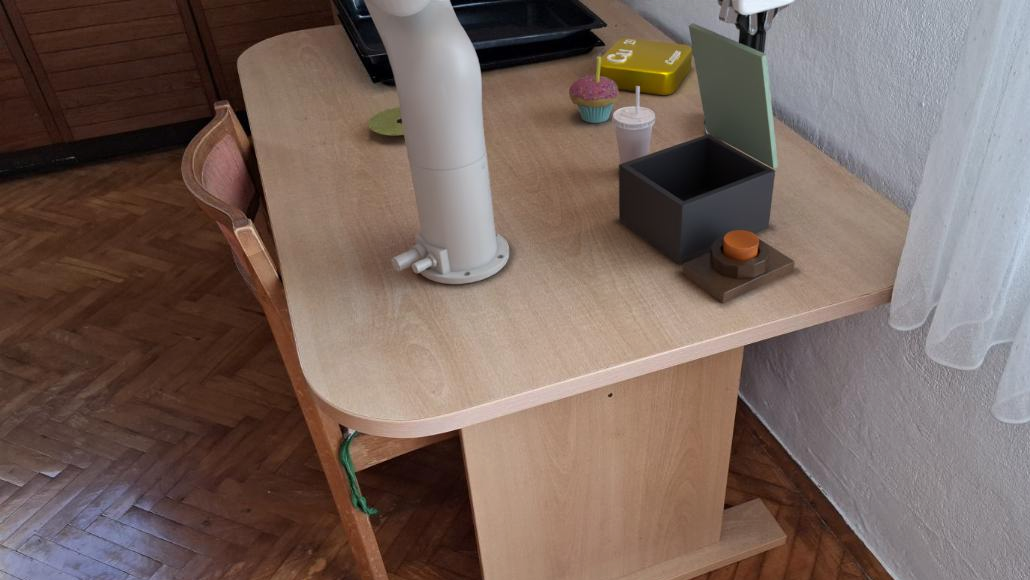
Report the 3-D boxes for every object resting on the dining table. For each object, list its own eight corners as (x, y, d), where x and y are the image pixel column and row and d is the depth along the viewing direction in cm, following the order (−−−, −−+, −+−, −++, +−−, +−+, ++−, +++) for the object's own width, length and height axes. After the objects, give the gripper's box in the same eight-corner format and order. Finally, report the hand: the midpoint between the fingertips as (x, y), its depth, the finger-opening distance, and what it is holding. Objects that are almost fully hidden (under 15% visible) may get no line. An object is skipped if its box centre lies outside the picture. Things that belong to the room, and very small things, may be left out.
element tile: (671, 97, 154) (672, 71, 151) (593, 87, 158) (593, 61, 155) (693, 67, 165) (694, 42, 162) (620, 58, 169) (620, 34, 166)
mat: (417, 149, 140) (415, 138, 139) (357, 140, 143) (355, 129, 142) (448, 120, 148) (446, 110, 147) (391, 113, 151) (389, 102, 150)
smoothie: (650, 185, 129) (652, 96, 120) (609, 181, 130) (607, 93, 122) (656, 165, 134) (659, 79, 125) (616, 162, 135) (616, 76, 126)
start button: (738, 265, 106) (739, 252, 105) (715, 250, 109) (716, 237, 108) (764, 254, 108) (766, 241, 107) (741, 239, 111) (742, 226, 110)
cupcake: (628, 119, 147) (629, 50, 140) (588, 132, 144) (585, 62, 136) (600, 103, 153) (599, 36, 145) (560, 115, 149) (557, 47, 142)
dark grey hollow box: (679, 265, 112) (682, 206, 107) (618, 221, 121) (618, 164, 116) (768, 228, 119) (775, 170, 114) (704, 188, 128) (708, 133, 122)
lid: (761, 57, 101) (766, 54, 101) (688, 25, 110) (693, 22, 110) (773, 169, 113) (778, 166, 113) (706, 132, 122) (710, 129, 122)
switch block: (722, 303, 106) (725, 280, 103) (682, 274, 111) (683, 250, 108) (793, 271, 111) (797, 248, 108) (751, 244, 116) (754, 221, 114)
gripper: (737, -79, 93) (725, 84, 104) (834, -99, 99) (812, 56, 111) (693, -92, 98) (686, 65, 109) (788, -110, 104) (772, 40, 116)
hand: (750, 60), depth 110 cm, fingers closed
